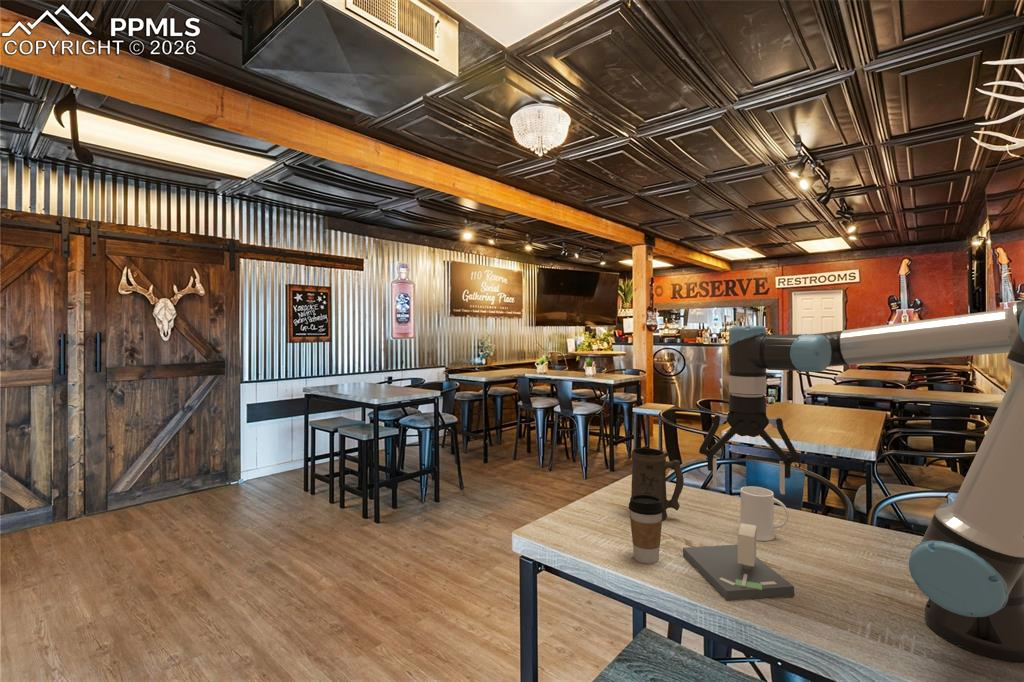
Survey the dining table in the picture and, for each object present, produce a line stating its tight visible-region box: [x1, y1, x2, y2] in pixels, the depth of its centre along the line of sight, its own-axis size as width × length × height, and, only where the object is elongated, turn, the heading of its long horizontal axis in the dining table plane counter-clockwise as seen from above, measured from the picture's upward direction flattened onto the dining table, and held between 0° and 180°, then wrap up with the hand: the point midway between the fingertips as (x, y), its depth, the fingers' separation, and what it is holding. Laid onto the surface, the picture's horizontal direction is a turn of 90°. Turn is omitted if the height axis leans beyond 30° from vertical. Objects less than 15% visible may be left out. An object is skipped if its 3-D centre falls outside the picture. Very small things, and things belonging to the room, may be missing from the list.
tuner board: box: [682, 543, 795, 601], centre depth 111 cm, size 20×15×2 cm
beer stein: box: [629, 447, 685, 522], centre depth 145 cm, size 15×11×20 cm
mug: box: [740, 486, 790, 542], centre depth 131 cm, size 12×8×12 cm
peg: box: [737, 522, 757, 587], centre depth 107 cm, size 3×12×9 cm, turn 149°
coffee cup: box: [628, 494, 664, 565], centre depth 119 cm, size 8×8×15 cm
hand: (747, 488), depth 109 cm, fingers open, 13 cm apart
